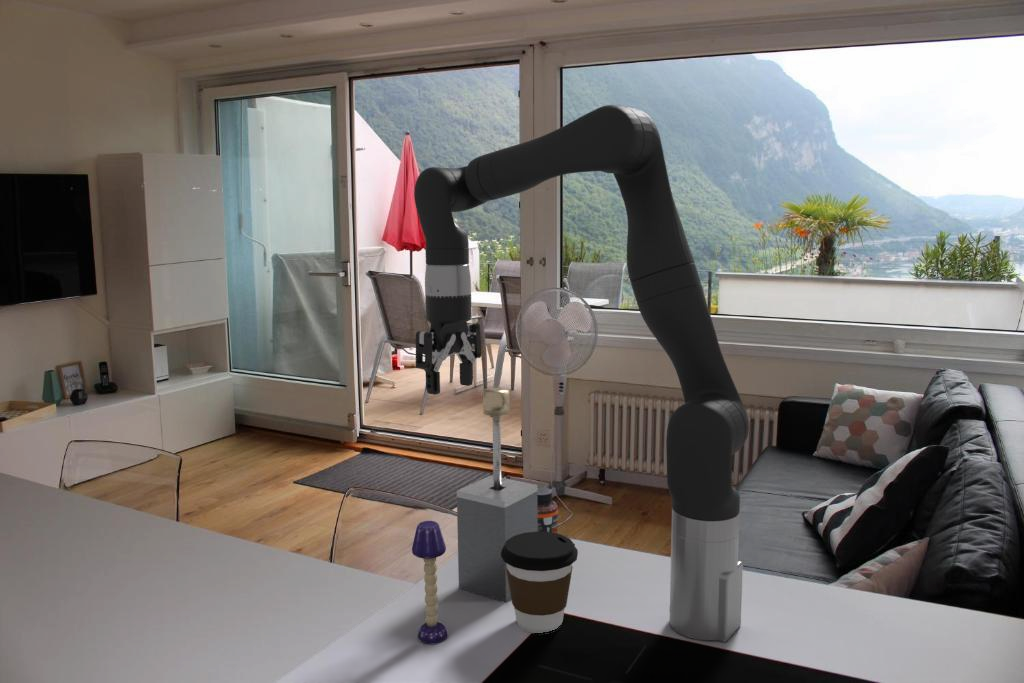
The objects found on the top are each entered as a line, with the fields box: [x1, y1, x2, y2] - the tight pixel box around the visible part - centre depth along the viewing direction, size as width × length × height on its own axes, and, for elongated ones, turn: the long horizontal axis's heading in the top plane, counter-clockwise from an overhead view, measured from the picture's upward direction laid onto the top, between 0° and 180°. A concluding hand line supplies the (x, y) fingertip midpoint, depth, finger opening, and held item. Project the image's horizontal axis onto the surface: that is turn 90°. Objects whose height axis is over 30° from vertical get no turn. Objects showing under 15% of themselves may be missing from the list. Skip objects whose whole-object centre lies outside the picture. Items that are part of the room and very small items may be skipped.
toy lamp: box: [411, 520, 449, 645], centre depth 118 cm, size 5×5×17 cm
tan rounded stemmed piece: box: [482, 387, 510, 491], centre depth 133 cm, size 7×7×18 cm
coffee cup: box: [501, 532, 579, 634], centre depth 122 cm, size 11×11×12 cm
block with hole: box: [456, 475, 538, 603], centre depth 135 cm, size 9×9×16 cm
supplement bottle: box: [537, 487, 559, 534], centre depth 147 cm, size 6×6×11 cm
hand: (450, 389), depth 143 cm, fingers open, 8 cm apart
